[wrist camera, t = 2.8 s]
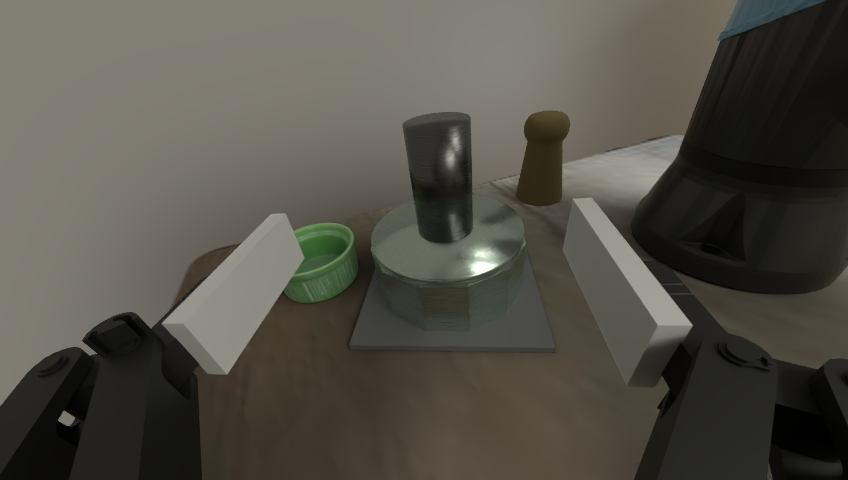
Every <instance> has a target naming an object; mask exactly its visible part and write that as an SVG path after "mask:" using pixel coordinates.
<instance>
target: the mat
mask: <svg viewBox="0 0 848 480" xmlns="http://www.w3.org/2000/svg"><path fill="white" fill-rule="evenodd" d="M349 347H350V349H351V350H406V351H478V352H549V353H555V350H556V346H555V343H554V339H553V336H552V333H551V329H550V326H549V323H548V320H547V316H546V313H545V310H544V306H543V303H542V300H541V296H540V293H539V290H538V286H537V283H536V280H535V276H534V273H533V270H532V266H531V263H530V260H529V256H528V253H527V250H526V251H525V261H524V271H523V281H522V288H521V290H520V292H519V293H518V295H517V297H516V299H515V300H514V302H513V304H512V305H511V307H510V309H509V310H508V312H507V314H506V315H503V316H501V317H499V318H497V319H495V320H493V321H491V322H489V323H487V324H485V325H483V326H480V327H478V328H476V329H474V330H472V331H470V332H459V331H425V330H423V329H421V328H419V327H417V326H415V325H413V324H411V323H409V322H407V321H405V320H403V319H401V318H399V317H397V316H396V315H394V314H393V312H392V310H391V308H390V306H389V304H388V302H387V300H386V298H385V296H384V294H383V292H382V290H381V286H380V282H379V279H378V275H377V271H376V268H375V270H374V273H373V276H372V279H371V282H370V285H369V288H368V291H367V294H366V297H365V300H364V303H363V306H362V309H361V311H360V314H359V317H358V320H357V323H356V326H355V329H354V332H353V335H352V338H351V341H350V344H349Z"/></svg>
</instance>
